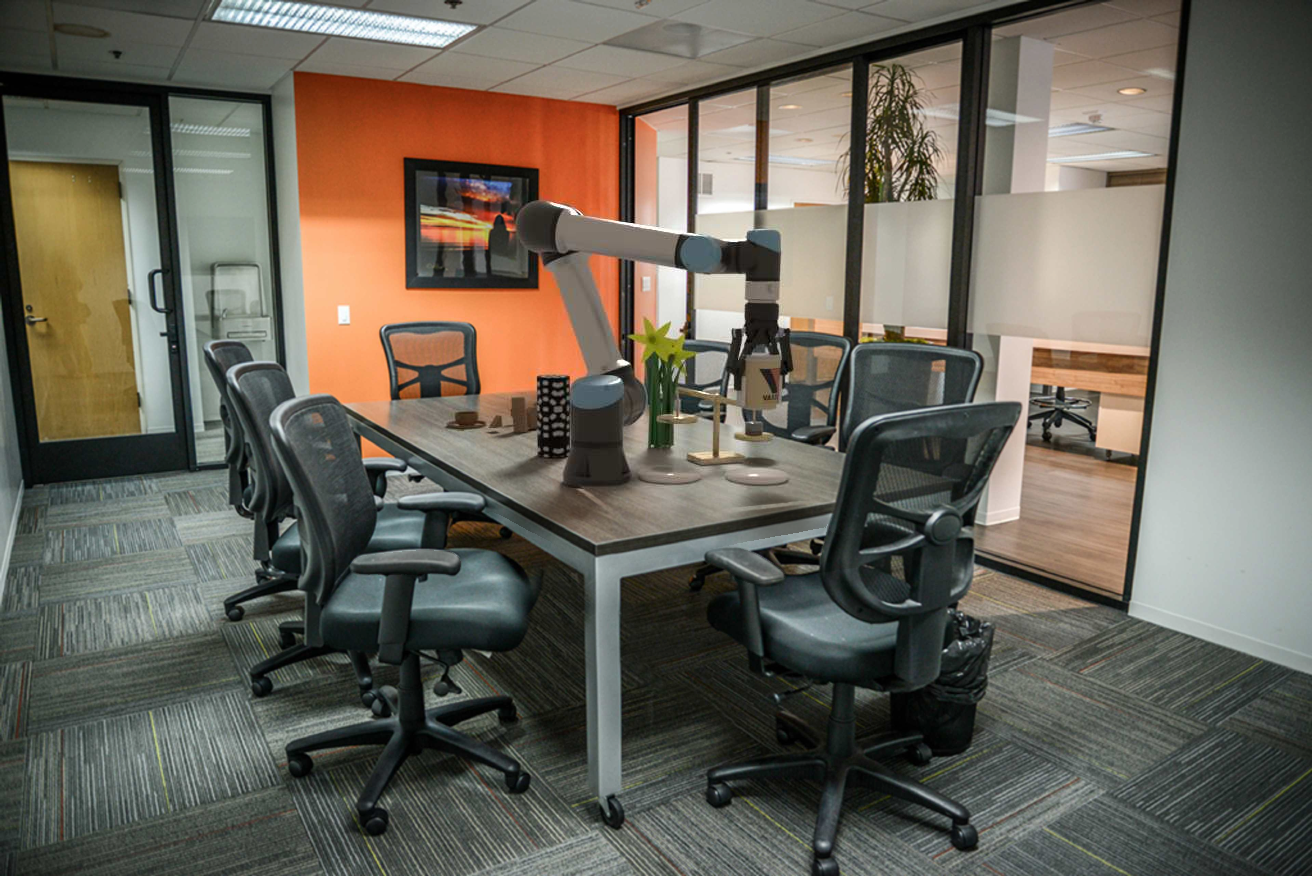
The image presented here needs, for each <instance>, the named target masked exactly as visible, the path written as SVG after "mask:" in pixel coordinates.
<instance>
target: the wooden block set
mask: <svg viewBox="0 0 1312 876" xmlns="http://www.w3.org/2000/svg"><path fill="white" fill-rule="evenodd" d="M526 405H527V404H526V397H525V396H513V397H511V409H512V416H513V417H512V425H513V426H512V428H513V433H515V434H520V433H523V434H524V433H527V432H528V429H535V428H537V402H534V403H533V406H527V407H526ZM502 417H503V416H502V415H499V414H498V415H495V416H494V418H493V419H492V421H491V423H490V424H489V426H488V429H498V428H503V418H502Z"/></svg>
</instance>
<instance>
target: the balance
mask: <svg viewBox="0 0 1312 876" xmlns="http://www.w3.org/2000/svg"><path fill="white" fill-rule="evenodd" d="M680 394H682V395H683V394H684V395H688V396H690V397H691V396H693V397H695V398H700V399H704V400H709V401H712V402H713V413H712V415H713V416H712V417H713V419H712V451H704V452H702V451H701V452H688V453H686V460H687V461H690V462H692V463H695V464H697V465H700V466H707V465H719V464H720V465H721V464H722V465H723V464H731V463H732V464H733V463H734V464H735V463H745V460H746V458H745V457H746V456H745V455H743V454H741V453H737V452H736V451H732V450H720V431H721V430H720V429H721V428H720V424H721V423H720V421H721V404H726V405H729V406H734V407H737V408H738V407H739V408H742V406H739V405H736V399H732V398H727V397H725V396H722V394H719V393H715V394H711V393H707V392H702V391H699V390H694V389H691V388H686V387H682V386H677V390H676V397H675V402H676V403H675V404H676V406H675V409H676V411H675V413H673V414H664V415H658V416H657V421H658V422H661V423H668V424H674V425H689V424H695V423H698V422H699V417H698V416H697V415H694V414H685V413H680V412H679V411H680ZM756 411H757V410H752V421H745V422H744V431H737V432H736V431H735V432H734V433H733V439H734V440H737V441H741V442H742V441H743V442H752V443H754V442H755V443H756V442H760V443H761V442H771V441H774V436H775V435H774V434H773V433H770V432H765V431H763V429H764V428H763V426H764V425H763V422H762V421H756Z"/></svg>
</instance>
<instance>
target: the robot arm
mask: <svg viewBox="0 0 1312 876" xmlns="http://www.w3.org/2000/svg"><path fill="white" fill-rule="evenodd" d="M514 229H515V234H516V237H517V238H518V241H519V242H520V244H521V245H522V246H523V247H524V248H525V249H527V250H529V251H530V252H533V253H537V254H538V255H539V257H540V259H541V263H542V266H543V268H544V270H545V271H547V272H549V273H551V274H552V275H553V277H554V280H555V282H556V285H557V289H558V291H559V294H560V297H561V299H562V302H563V305H564V308H565V311H566V313H567V316H568V319H569V323H570V325H571V327H572V330H573V334H574V337H575V339H576V342H577V345H578V347H579V350H580V353H581V356H582V358H583V362H584V364H585V367H586V370H587V372H586V374H585V376H582V377H578V378H577V379H575V380H573V382H571V384H570V396H569V398H570V452H569V455H568V456H567V459H566V462H565V464H564V469H563V472H562V484H564V485H565V486H568V487H571V488H575V489H584V488H583V487H611V486H620V485H624V484H627V483H628V482H631V480H632V478H631V476H632V473H631V472H632V471H631V469H630V466H629V463H628V459H627V457H626V453H625V450H624V428H626V427H629V426H631V425H633V424H635V423H636V422H637V421H638V420H640V419H641V418H642V416H643V415H644V414H645V412H646V410H647V406H648V405H649V393H648V392H647V389H646V386H645V385H644V383H643V382H642V381H641V380H639V379H638V378H637V377H636V374H635V372H634V369H633V366H632V364H631V362H629V361H627V360H625V359H623V357H622V355H621V352H620V349H619V346H618V343H617V341H616V337H615V334H614V332H613V330H612V329H613V328H612V327H611V323H610V321H609V317H608V315H607V311H606V310H605V307H604V303H603V301H602V297H601V295H600V293H599V290H598V287H597V286H598V285H597V283H596V280H595V278H594V274H593V272H592V270H591V267H590V264H589V261H590V258H591V256H592V254H593V255H598V256H603V257H611V258H616V259H622V260H627V261H632V262H639V263H644V264H650V265H656V266H663V267H669V268H674V269H680V270H684V271H689V272H693V273H695V274H698V275H699V274H700V275H708V276H710V275H745V279H744V280H745V282H744V283H745V284H744V300H745V301H746V303H745V304H744V313H743V315H744V316H743V317H744V325H743V327H732V328H731V330H730V331H731V343H730V347H729V351H728V352H729V353H728V356H727V363H726V367H725V372H726V373H727V374H731V375H732V376H733V390H734V391H736V399H735V400H736V405H739V406H745V398H746V377H745V376H742V375H743V373H744V371H745V368H746V361H745V358H746V355H752V353H754V351H755V349H756V348H757V346H760V345H764V346H765V348H766V349H767V353H769V354H772V355H778V354H780V355H781V358H782V360H781V366H780V377H779V387H778V397H777V405H778V406H779V405H782V394H783V390H785V387H786V376H788V374H789V373H791V372H793V371H794V364H793V356H792V349H791V348H792V347H791V342H790V341H791V340H790V335H791V328H790V327H780V326H779V323H778V321H779V317H780V304H779V303H778V302H777V301H779V300H780V289H781V288H780V286H781V285H780V282H781V279H780V278H781V265H782V262H781V261H782V244H781V242H782V240H781V239H782V238H781V237H782V236H781V233H780V232H779V231H778V230H776V229H769V228H768V229H767V228H766V229H764V228H763V229H760V228H759V229H758V228H757V229H749V230H747V232H746V236H745V238H741V239H723V238H722V239H721V238H716V237H712V236H710V235H705V234H695V233H691V232H683V231H678V230H672V229H666V228H660V227H654V226H649V225H642V224H636V223H629V222H622V221H618V220H612V219H605V218H599V217H591V216H586V215H584V214H583V213H581V212H580V211H579V210H577V209H576V208H575V207H573V206H570V205H569V204H565V203H557V202H556V203H555V202H552V201H548V200H543V199H541V200H540V199H539V200H533V201H530V202H529V203H527V204H525V205H524V206H523V207H522V208H521V209H520V210H519V212H518V213H517V216H516V219H515V228H514ZM744 336H746V338H745V341H744V343H743V337H744ZM776 336H778V342H779V348H778V342H777V339H776ZM742 343H743V348H741V347H742ZM779 349H780V351H779ZM741 350H742V351H741ZM742 354H743V355H745V356H742Z"/></svg>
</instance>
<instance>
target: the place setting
mask: <svg viewBox="0 0 1312 876" xmlns="http://www.w3.org/2000/svg"><path fill="white" fill-rule="evenodd" d="M510 417H511V418H513V416H512V408H510ZM487 424H488V422H487V421H484V420H479V412H478V411H472V410H471V411H469V410H468V411H467V410H465V411H456V412H455V413H454V420H453V421H448V422H446V427H447V428H448V429H453V430H455V431H458V432H460V431H461V432H462V431H465V430H469V429H470V430H473V429H481V428H484V427H486V426H488V425H487Z"/></svg>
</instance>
